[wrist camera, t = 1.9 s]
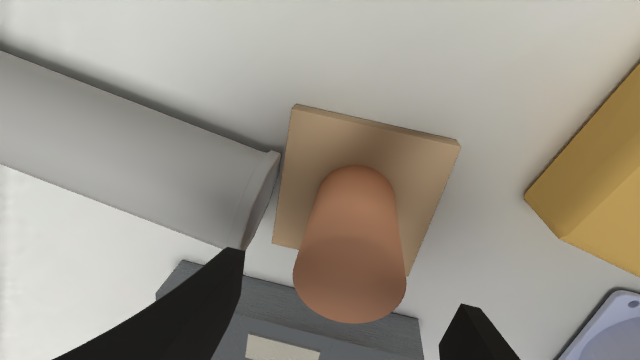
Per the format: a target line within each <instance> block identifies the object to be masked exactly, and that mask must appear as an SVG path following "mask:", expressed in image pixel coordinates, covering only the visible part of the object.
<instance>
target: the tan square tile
mask: <svg viewBox="0 0 640 360" xmlns="http://www.w3.org/2000/svg"><path fill="white" fill-rule="evenodd" d="M460 149H461V146H460V144H459V143H458V142H457V140H454V139H450V138H445V137H441V136H437V135H432V134H428V133H423V132H419V131H414V130H410V129H405V128H401V127H396V126H392V125H387V124H383V123H379V122H374V121H370V120H365V119H361V118H356V117H352V116H347V115H343V114H338V113H334V112H330V111H325V110H321V109H316V108H312V107H307V106H303V105H298V104H296V105H295V106H294V107H293V108H292V111H291V118H290V125H289V131H288V138H287V145H286V151H285V158H284V165H283V171H282V178H281V185H280V191H279V198H278V205H277V211H276V218H275V225H274V231H273V238H272V243H273V244H277V245H281V246H285V247H289V248H293V249H297V250H299V249H300V246H301V243H302V240H303V237H304V233H305V230H306V227H307V224H308V221H309V218H310V215H311V212H312V208H313V205H314V202H315V199H316V196H317V193H318V190H319V187H320V185H321V183H322V181H323V180H324V179H325V177H326V176H327V175H328V174H330V173H331V172H332V171H334V170H336V169H338V168H341V167H344V166H349V165H361V166H366V167H369V168H372V169H374V170H376V171H378V172H379V173H381V174H382V175H383V176H384V177H385V178H386V179H387V180H388V181H389V183H390V184H391V186H392V188H393V191H394V195H395V202H396V209H397V216H398V224H399V231H400V238H401V246H402V253H403V260H404V267H405V275H406V276H408V275H409V273H410V270H411V268H412V265H413V263H414V260H415V258H416V256H417V253H418V251H419V248H420V246H421V243H422V241H423V239H424V236H425V234H426V231H427V229H428V226H429V224H430V222H431V219H432V217H433V214H434V212H435V209H436V207H437V205H438V202H439V200H440V197H441V195H442V192H443V190H444V188H445V185H446V183H447V180H448V178H449V175H450V173H451V171H452V168H453V166H454V163H455V161H456V158H457V156H458V154H459V151H460Z"/></svg>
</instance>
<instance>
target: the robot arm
mask: <svg viewBox="0 0 640 360" xmlns="http://www.w3.org/2000/svg"><path fill="white" fill-rule="evenodd" d="M244 260H245V251H243V250H239V249H235V248H231V247H226V248H225V249H223V250H222V251H221V252H220V253H219V254H217V255H216V256H215V257H214V258H213V259H211V260H210V261H209V262H208V263H207V264H205V265H204V266H203V267H202V268H200V269H199V270H198V271H197V272H195V273H194V274H193V275H191V276H190V277H189V278H187V279H186V280H185V281H184V282H182V283H181V284H180V285H178V286H177V287H176V288H174V289H173V290H171V291H170V292H169V293H167V294H166V295H164V296H163V297H161V298H160V299H158V300H157V301H155V302H154V303H153V304H151V305H150V306H148V307H147V308H145V309H143V310H142V311H140V312H139V313H137V314H136V315H134V316H132V317H131V318H129V319H127V320H126V321H124V322H122V323H121V324H119V325H117V326H116V327H114V328H112V329H110V330H109V331H107V332H105V333H103V334H101V335H99V336H98V337H96V338H94V339H92V340H90V341H88V342H87V343H85V344H83V345H81V346H79V347H77V348H75V349H73V350H71V351H69V352H67V353H65V354H63V355H61V356H59V357H57V358H55V359H52V360H211V358H212V356H213V354H214V352H215V351H216V349H217V347H218V345H219V343H220V341H221V339H222V337H223V335H224V334H225V332H226V330H227V328H228V326H229V324H230V321H231V319H232V316H233V314H234V311H235V309H236V306H237V304H238V301H239V299H240V296H241V288H242V279H243V269H244ZM439 354H440V360H520V359H519V357H518V356H517V355H516V353H515V352H514V351H513V350H512V348H511V347H510V346H509V344H508V343H507V342H506V341H505V339H504V338H503V337H502V335H501V334H500V333H499V331H498V330H497V329H496V328H495V326H494V325H493V324H492V322H491V321H490V320H489V319H488V317H487V316H486V315H485V314H484V312H483V311H482V310H481V309H480V308H477V307H473V306H469V305H465V304H461V305H460V306H459V308H458V310H457V312H456V314H455V316H454V318H453V319H452V321H451V323H450V325H449V327H448V329H447V331H446V332H445V334H444V336H443V338H442V340H441V342H440V344H439ZM558 360H640V294H637V293H633V292H629V291H624V290H619V291H616V292H613V293H612V294H611V295H610V296H609V298H608V299H607V300H606V301H605V303H604V304H603V305H602V306H601V307H600V309H599V310H598V311H597V312H596V314H595V315H594V316H593V317H592V319H591V320H590V321H589V322H588V323H587V325H586V326H585V327H584V328H583V330H582V331H581V332H580V333H579V334H578V336H577V337H576V338H575V339H574V341H573V342H572V343H571V344H570V346H569V347H568V348H567V349H566V350H565V352H564V353H563V354H562V355H561V357H560V358H559V359H558Z"/></svg>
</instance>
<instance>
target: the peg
mask: <svg viewBox="0 0 640 360" xmlns="http://www.w3.org/2000/svg"><path fill="white" fill-rule="evenodd" d="M293 283H294V287H295V289H296V292H297V293H298V295H299V297H300V298H301V300H302V301H303V302H304V303H305V304H306V305H307V306H308V307H309V308H310V309H312V310H313V311H314V312H316V313H317V314H319V315H321V316H323V317H325V318H328V319H330V320H334V321H337V322H342V323H354V324H358V323H367V322H372V321H375V320H378V319H380V318H383V317H385V316H386V315H388V314H389V313H391V312H392V311H393V310H394V309H395V308H396V307H398V305H399V304H400V303H401V301H402V299H403V297H404V294H405V291H406V275H405V267H404V260H403V253H402V246H401V238H400V231H399V224H398V216H397V209H396V202H395V195H394V191H393V188H392V186H391V184H390V183H389V181H388V180H387V179H386V178H385V177H384V176H383V175H382V174H381V173H379V172H378V171H376V170H374V169H372V168H369V167H366V166H361V165H349V166H344V167H341V168H338V169H336V170H334V171H332V172H331V173H330V174H328V175H327V176H326V177H325V179H324V180H323V181H322V183H321V185H320V187H319V190H318V193H317V196H316V199H315V202H314V205H313V208H312V212H311V215H310V218H309V221H308V224H307V227H306V230H305V233H304V237H303V240H302V243H301V246H300V249H299V252H298V255H297V259H296V262H295V265H294V269H293Z"/></svg>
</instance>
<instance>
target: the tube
mask: <svg viewBox="0 0 640 360" xmlns="http://www.w3.org/2000/svg"><path fill="white" fill-rule="evenodd" d="M280 158H281V154H280V153H278V152H275V151H272V150H271V151H270V152H267V153H265V152H262V151H259V150H256V149H253V148H251V147H248V146H246V145H243V144H241V143H238V142H235V141H233V140H230V139H228V138H225V137H223V136H220V135H217V134H215V133H212V132H210V131H207V130H204V129H202V128H199V127H197V126H194V125H192V124H189V123H186V122H184V121H181V120H179V119H176V118H173V117H171V116H168V115H166V114H163V113H161V112H158V111H155V110H153V109H150V108H148V107H145V106H142V105H140V104H137V103H135V102H132V101H130V100H127V99H124V98H122V97H119V96H117V95H114V94H111V93H109V92H106V91H104V90H101V89H99V88H96V87H93V86H91V85H88V84H86V83H83V82H80V81H78V80H75V79H73V78H70V77H68V76H65V75H62V74H60V73H57V72H55V71H52V70H50V69H47V68H44V67H42V66H39V65H37V64H34V63H31V62H29V61H26V60H24V59H21V58H19V57H16V56H13V55H11V54H8V53H6V52H3V51H0V164H1V165H4V166H7V167H9V168H12V169H15V170H17V171H20V172H22V173H25V174H28V175H30V176H33V177H35V178H38V179H41V180H43V181H46V182H49V183H51V184H54V185H56V186H59V187H62V188H64V189H67V190H70V191H72V192H75V193H77V194H80V195H83V196H85V197H88V198H90V199H93V200H96V201H98V202H101V203H104V204H106V205H109V206H111V207H114V208H117V209H119V210H122V211H124V212H127V213H130V214H132V215H135V216H138V217H140V218H143V219H145V220H148V221H151V222H153V223H156V224H158V225H161V226H164V227H166V228H169V229H172V230H174V231H177V232H179V233H182V234H185V235H187V236H190V237H193V238H195V239H198V240H200V241H203V242H206V243H208V244H211V245H213V246H216V247H219V248H221V249H225V248H226V247H231V248H235V249H239V250H243V251H246V249H247V247H248V246H249V244H250V242H251V240H252V239H253V237H254V235H255V233H256V230H257V228H258V226H259V224H260V221H261V219H262V217H263V215H264V213H265V210H266V208H267V206H268V204H269V201H270V197H271V194H272V191H273V188H274V185H275V182H276V179H277V176H278V172H279V165H280Z"/></svg>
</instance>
